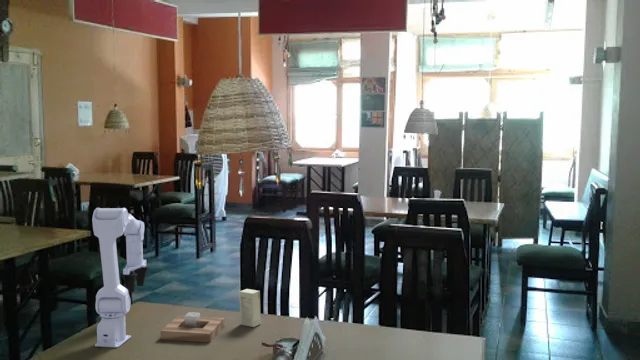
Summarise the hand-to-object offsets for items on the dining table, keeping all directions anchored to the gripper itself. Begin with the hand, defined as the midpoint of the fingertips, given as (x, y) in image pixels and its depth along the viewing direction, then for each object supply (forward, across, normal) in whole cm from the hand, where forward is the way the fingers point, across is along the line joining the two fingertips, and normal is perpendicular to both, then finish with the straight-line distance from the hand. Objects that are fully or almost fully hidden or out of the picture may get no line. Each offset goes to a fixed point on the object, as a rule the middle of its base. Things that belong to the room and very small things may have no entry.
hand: (135, 288), depth 209 cm
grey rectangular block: (+10, -13, -27) cm, 31 cm away
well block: (+10, -13, -27) cm, 32 cm away
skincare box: (+11, -2, -44) cm, 45 cm away
